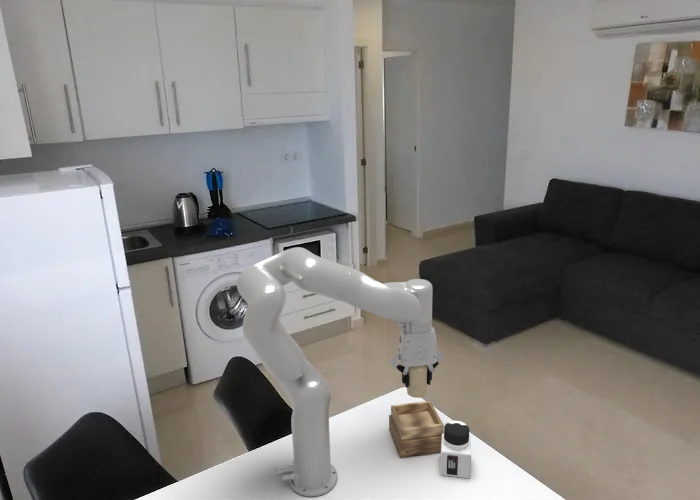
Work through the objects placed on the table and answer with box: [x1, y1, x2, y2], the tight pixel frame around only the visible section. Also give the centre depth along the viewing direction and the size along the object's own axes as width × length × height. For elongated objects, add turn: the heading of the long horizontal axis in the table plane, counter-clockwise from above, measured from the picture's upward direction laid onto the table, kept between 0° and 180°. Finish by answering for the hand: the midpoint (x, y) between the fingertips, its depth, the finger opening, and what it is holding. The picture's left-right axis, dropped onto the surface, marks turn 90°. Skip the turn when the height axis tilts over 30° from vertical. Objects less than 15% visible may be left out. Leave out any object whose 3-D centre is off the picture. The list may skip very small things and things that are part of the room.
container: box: [439, 420, 472, 479], centre depth 139 cm, size 8×8×13 cm
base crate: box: [388, 414, 442, 459], centre depth 151 cm, size 13×13×5 cm
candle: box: [406, 365, 428, 399], centre depth 146 cm, size 6×6×10 cm
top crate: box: [390, 400, 445, 441], centre depth 150 cm, size 12×12×4 cm
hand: (416, 383), depth 146 cm, fingers closed on candle, 5 cm apart
